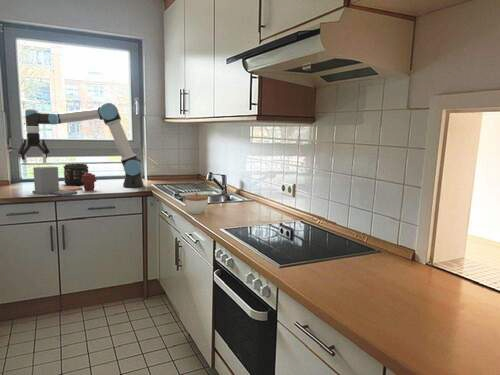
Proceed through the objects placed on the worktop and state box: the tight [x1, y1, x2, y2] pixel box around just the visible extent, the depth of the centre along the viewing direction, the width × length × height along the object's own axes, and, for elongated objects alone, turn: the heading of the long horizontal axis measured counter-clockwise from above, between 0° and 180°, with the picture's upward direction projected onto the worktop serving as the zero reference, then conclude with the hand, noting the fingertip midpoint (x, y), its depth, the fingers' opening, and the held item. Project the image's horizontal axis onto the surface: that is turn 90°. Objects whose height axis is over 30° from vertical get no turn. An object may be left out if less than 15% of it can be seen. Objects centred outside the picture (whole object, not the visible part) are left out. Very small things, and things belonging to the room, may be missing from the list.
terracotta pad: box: [59, 185, 84, 192], centre depth 263 cm, size 14×14×2 cm
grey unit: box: [31, 165, 61, 196], centre depth 249 cm, size 14×12×18 cm
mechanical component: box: [81, 172, 97, 192], centre depth 263 cm, size 12×10×10 cm
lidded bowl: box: [184, 192, 209, 215], centre depth 201 cm, size 13×13×11 cm
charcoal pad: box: [51, 190, 78, 197], centre depth 247 cm, size 11×11×2 cm
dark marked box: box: [63, 163, 89, 187], centre depth 289 cm, size 18×18×16 cm
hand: (35, 164), depth 253 cm, fingers open, 13 cm apart
